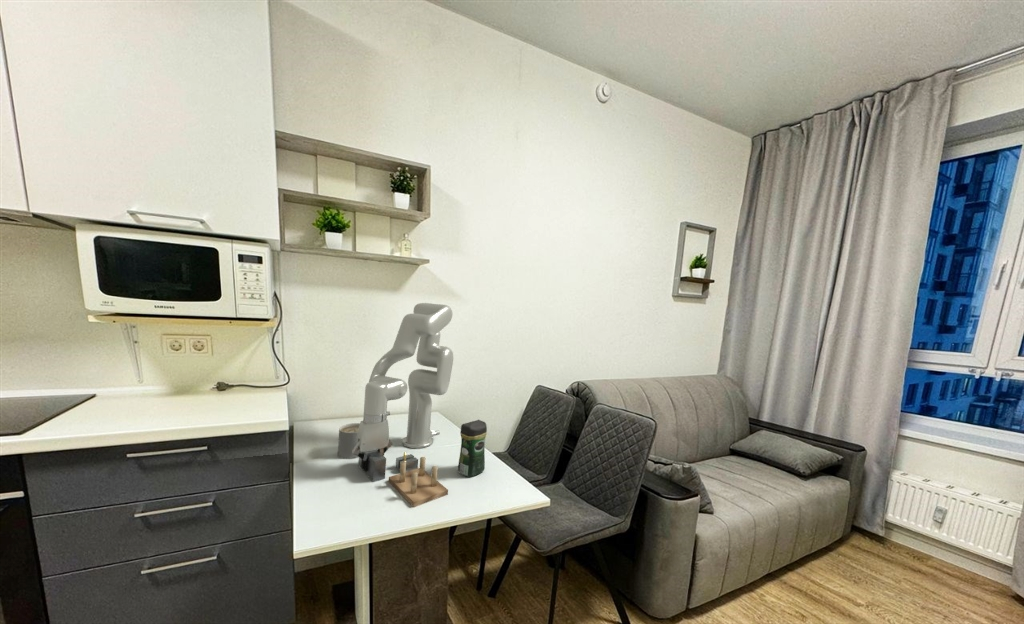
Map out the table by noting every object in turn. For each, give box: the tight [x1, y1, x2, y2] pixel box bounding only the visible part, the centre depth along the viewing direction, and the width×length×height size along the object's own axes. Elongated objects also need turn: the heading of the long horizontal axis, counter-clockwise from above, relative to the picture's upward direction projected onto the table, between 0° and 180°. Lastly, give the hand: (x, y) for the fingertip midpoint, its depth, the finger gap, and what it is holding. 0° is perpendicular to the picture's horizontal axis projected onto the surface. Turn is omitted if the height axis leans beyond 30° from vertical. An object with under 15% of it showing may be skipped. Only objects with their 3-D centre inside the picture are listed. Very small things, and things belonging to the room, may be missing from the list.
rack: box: [388, 456, 449, 508], centre depth 115 cm, size 12×18×8 cm, turn 43°
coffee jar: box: [457, 419, 488, 478], centre depth 129 cm, size 10×8×19 cm
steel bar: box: [357, 449, 387, 483], centre depth 123 cm, size 4×14×7 cm, turn 43°
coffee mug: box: [337, 422, 360, 460], centre depth 138 cm, size 13×10×10 cm
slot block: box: [395, 451, 419, 472], centre depth 128 cm, size 6×5×6 cm
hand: (371, 467), depth 123 cm, fingers closed on steel bar, 4 cm apart
